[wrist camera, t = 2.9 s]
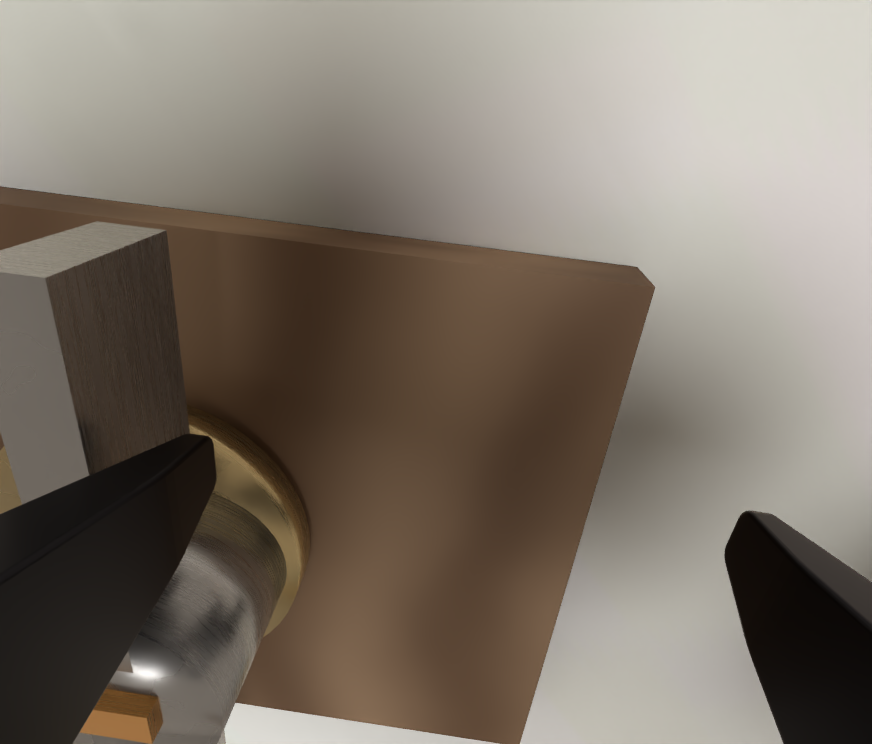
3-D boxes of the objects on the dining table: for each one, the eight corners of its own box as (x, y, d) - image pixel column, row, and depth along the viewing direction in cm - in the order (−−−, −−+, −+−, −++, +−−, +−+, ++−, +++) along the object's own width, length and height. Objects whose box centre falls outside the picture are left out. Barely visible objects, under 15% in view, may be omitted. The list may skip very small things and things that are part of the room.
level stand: (637, 267, 12) (678, 312, 10) (516, 702, 20) (521, 797, 17) (-42, 181, 13) (-181, 202, 10) (83, 636, 20) (20, 718, 17)
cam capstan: (310, 222, 11) (181, 308, 6) (309, 732, 18) (250, 939, 14) (-220, 155, 11) (-711, 191, 7) (-6, 683, 19) (-165, 869, 14)
